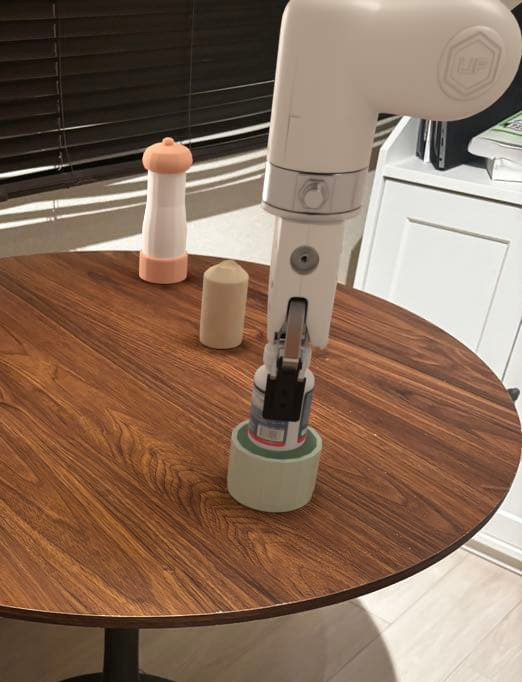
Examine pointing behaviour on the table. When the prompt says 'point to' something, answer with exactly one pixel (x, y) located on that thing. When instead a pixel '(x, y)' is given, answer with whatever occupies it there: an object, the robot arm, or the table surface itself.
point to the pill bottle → (274, 431)
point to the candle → (223, 305)
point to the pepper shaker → (165, 214)
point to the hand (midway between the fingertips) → (282, 400)
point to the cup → (272, 472)
